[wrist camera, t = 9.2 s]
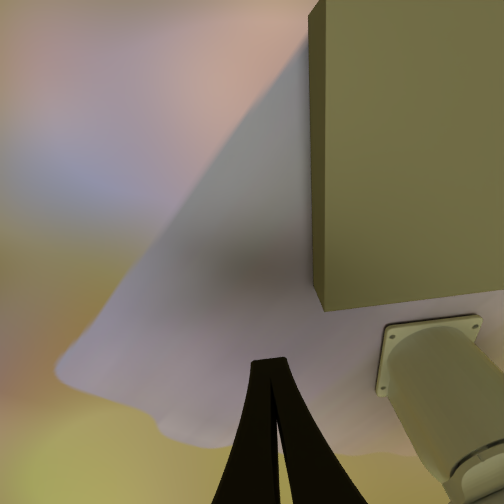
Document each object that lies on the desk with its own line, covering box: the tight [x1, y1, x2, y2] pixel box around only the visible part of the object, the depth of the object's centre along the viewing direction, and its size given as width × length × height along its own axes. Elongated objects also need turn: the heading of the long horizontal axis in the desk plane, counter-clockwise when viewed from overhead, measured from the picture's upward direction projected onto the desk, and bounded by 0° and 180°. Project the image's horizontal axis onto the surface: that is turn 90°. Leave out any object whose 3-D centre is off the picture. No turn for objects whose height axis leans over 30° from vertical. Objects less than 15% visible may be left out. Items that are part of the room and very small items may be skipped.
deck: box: [308, 0, 504, 312], centre depth 15 cm, size 16×14×3 cm
